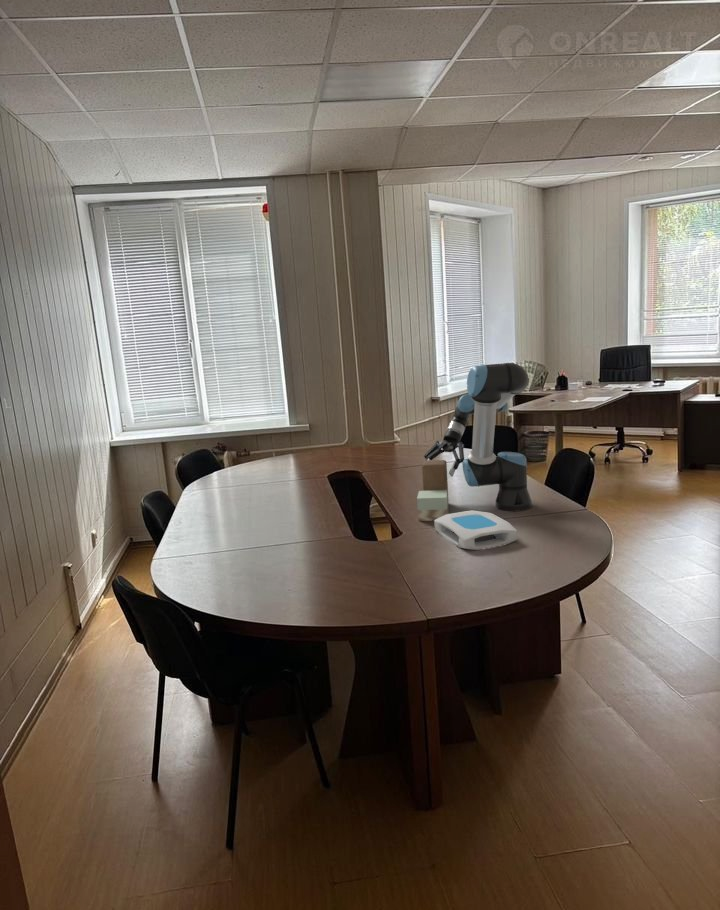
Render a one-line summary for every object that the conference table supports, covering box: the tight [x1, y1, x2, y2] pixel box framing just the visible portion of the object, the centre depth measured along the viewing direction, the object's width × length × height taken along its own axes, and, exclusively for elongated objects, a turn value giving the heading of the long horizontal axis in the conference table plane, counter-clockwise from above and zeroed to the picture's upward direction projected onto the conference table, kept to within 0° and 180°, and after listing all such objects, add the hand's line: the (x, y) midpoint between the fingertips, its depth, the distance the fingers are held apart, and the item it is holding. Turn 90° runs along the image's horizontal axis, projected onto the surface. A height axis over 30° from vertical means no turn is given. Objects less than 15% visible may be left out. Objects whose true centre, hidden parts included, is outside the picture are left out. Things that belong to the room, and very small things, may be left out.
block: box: [421, 459, 449, 494], centre depth 290 cm, size 10×10×20 cm
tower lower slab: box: [417, 505, 450, 522], centre depth 278 cm, size 12×12×5 cm
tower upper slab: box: [416, 490, 449, 511], centre depth 276 cm, size 12×12×5 cm
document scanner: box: [433, 510, 518, 551], centre depth 248 cm, size 21×28×6 cm
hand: (437, 473), depth 293 cm, fingers open, 13 cm apart
